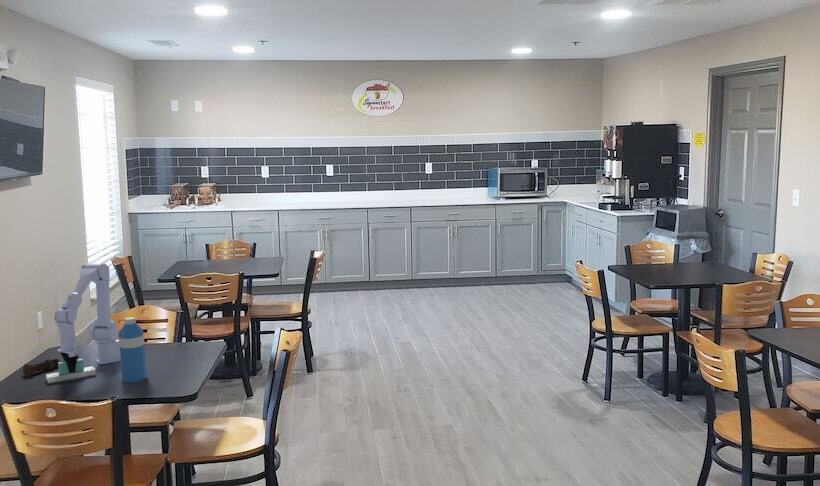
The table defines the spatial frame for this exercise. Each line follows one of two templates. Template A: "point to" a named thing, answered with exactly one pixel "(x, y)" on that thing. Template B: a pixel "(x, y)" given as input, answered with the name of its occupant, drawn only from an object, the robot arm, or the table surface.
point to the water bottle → (132, 351)
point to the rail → (70, 375)
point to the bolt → (39, 366)
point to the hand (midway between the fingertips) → (70, 370)
